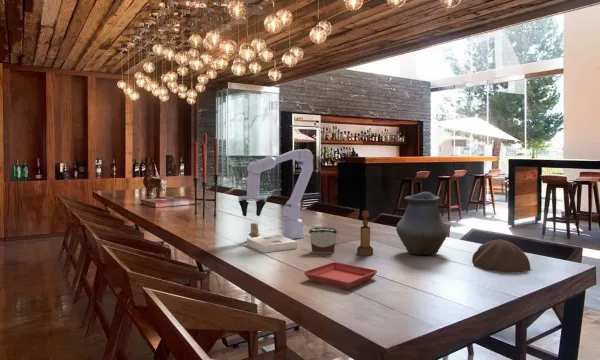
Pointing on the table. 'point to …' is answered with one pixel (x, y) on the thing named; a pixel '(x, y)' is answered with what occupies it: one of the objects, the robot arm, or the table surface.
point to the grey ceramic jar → (422, 225)
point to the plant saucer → (340, 275)
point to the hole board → (271, 243)
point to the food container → (323, 239)
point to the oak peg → (254, 230)
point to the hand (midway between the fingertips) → (251, 215)
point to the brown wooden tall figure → (365, 237)
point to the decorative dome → (501, 257)
